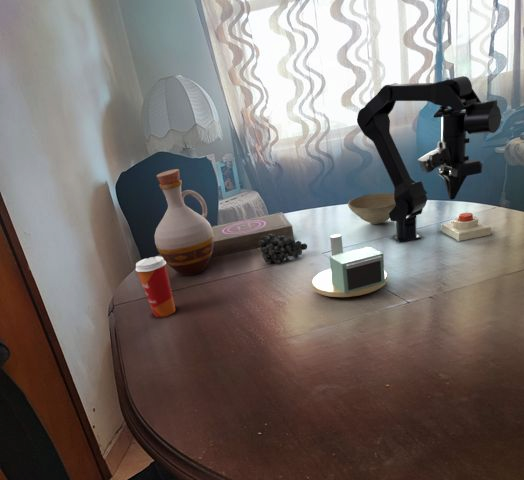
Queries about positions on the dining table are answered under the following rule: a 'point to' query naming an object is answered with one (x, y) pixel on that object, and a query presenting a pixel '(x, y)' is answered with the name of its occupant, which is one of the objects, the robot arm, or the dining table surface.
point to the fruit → (279, 248)
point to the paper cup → (156, 285)
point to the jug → (183, 229)
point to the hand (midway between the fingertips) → (452, 199)
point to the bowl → (373, 207)
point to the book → (248, 233)
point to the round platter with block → (351, 271)
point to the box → (466, 229)
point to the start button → (465, 217)
